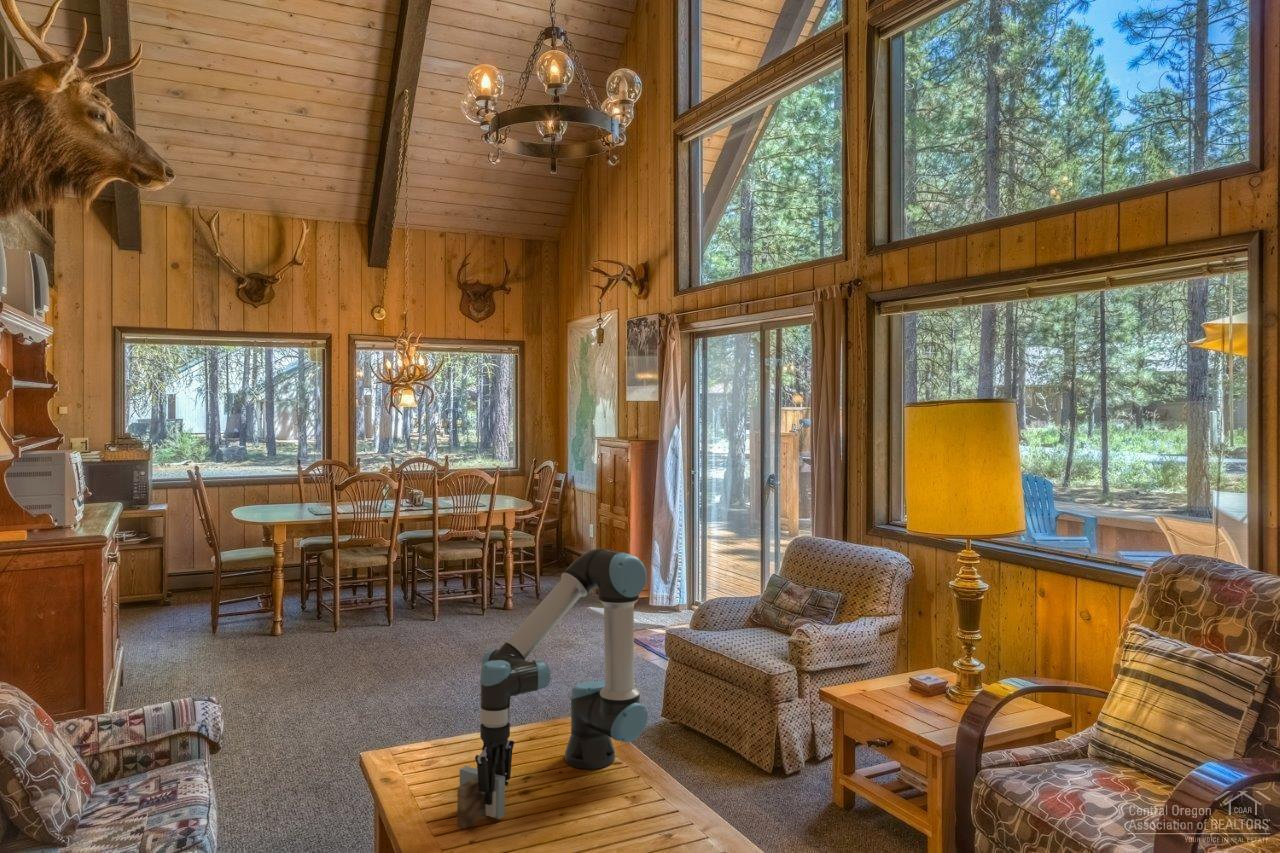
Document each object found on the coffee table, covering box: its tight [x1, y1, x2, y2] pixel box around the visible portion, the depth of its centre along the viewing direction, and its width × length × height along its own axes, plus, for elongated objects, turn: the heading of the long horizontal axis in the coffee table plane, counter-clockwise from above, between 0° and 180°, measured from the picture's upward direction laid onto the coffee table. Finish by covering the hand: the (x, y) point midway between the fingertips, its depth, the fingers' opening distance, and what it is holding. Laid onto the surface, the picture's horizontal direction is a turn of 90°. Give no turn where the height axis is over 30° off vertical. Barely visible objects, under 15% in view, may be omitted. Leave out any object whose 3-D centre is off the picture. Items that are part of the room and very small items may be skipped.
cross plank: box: [459, 765, 506, 820], centre depth 220 cm, size 2×13×10 cm, turn 61°
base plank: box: [456, 779, 487, 830], centre depth 220 cm, size 16×2×10 cm, turn 151°
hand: (494, 812), depth 218 cm, fingers closed on cross plank, 2 cm apart
